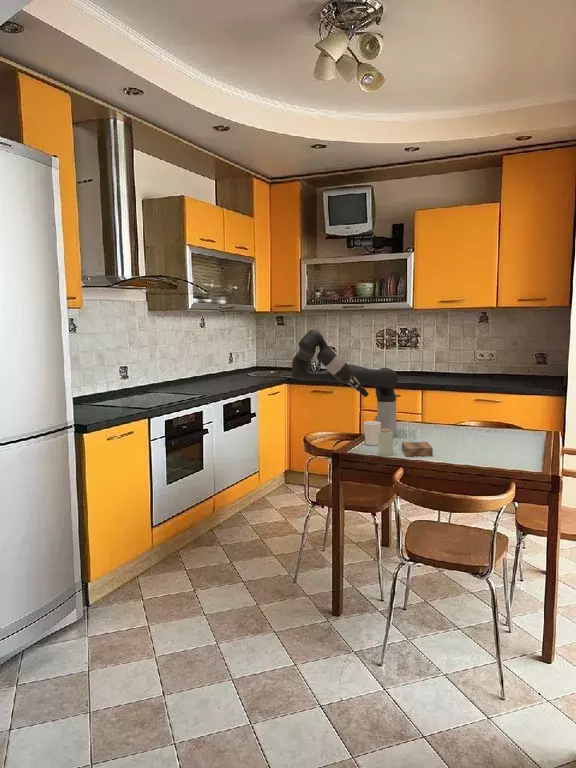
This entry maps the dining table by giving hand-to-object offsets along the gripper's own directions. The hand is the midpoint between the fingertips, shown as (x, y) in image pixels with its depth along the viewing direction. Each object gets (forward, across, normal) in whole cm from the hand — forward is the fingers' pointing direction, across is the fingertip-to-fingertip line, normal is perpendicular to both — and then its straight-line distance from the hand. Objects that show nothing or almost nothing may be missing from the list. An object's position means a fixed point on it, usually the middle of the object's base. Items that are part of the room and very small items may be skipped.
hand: (366, 394), depth 243 cm
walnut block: (+34, 0, -4) cm, 34 cm away
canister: (+24, 0, -13) cm, 28 cm away
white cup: (+22, -19, -15) cm, 33 cm away
